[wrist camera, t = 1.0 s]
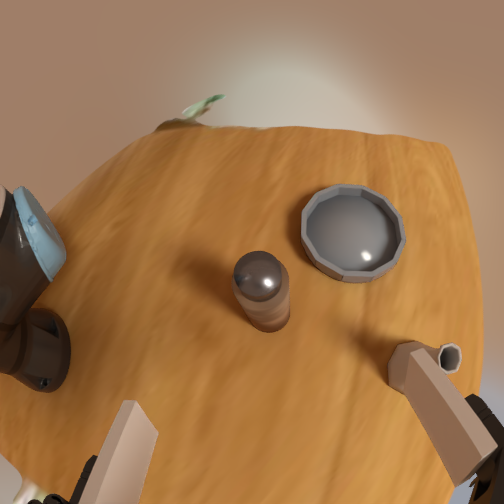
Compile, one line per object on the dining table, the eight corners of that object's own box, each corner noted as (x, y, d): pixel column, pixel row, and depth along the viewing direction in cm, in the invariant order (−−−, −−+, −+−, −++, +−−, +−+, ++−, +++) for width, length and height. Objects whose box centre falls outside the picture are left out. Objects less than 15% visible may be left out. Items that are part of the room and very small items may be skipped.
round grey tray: (299, 281, 36) (299, 274, 34) (302, 192, 42) (302, 182, 40) (405, 284, 33) (411, 277, 31) (391, 197, 40) (395, 188, 38)
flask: (392, 336, 30) (425, 316, 21) (437, 345, 28) (479, 327, 20) (380, 391, 27) (412, 391, 19) (427, 397, 25) (469, 396, 17)
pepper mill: (246, 330, 34) (222, 299, 22) (251, 292, 36) (231, 243, 24) (288, 333, 33) (286, 304, 21) (291, 294, 35) (290, 245, 24)
